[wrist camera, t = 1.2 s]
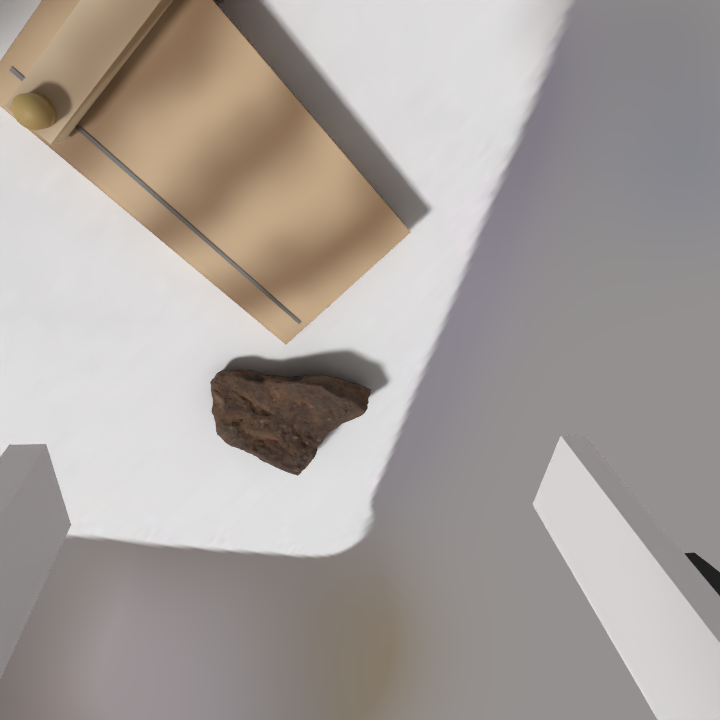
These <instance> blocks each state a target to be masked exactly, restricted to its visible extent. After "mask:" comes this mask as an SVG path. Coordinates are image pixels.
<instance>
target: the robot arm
mask: <svg viewBox="0 0 720 720" xmlns="http://www.w3.org/2000/svg"><path fill="white" fill-rule="evenodd" d="M533 506H534V508H535V509H536V511H537V513H538V515H539V516H540V518H541V519H542V521H543V523H544V525H545V527H546V528H547V530H548V531H549V533H550V535H551V537H552V539H553V540H554V542H555V544H556V546H557V547H558V549H559V551H560V552H561V554H562V556H563V557H564V559H565V561H566V563H567V564H568V566H569V568H570V569H571V571H572V573H573V575H574V577H575V578H576V580H577V582H578V583H579V585H580V587H581V588H582V590H583V592H584V594H585V595H586V597H587V599H588V601H589V602H590V604H591V606H592V608H593V609H594V611H595V612H596V614H597V616H598V618H599V620H600V621H601V623H602V625H603V626H604V628H605V630H606V632H607V633H608V635H609V637H610V639H611V640H612V642H613V644H614V645H615V647H616V649H617V651H618V652H619V654H620V656H621V657H622V659H623V661H624V663H625V664H626V666H627V668H628V669H629V671H630V673H631V675H632V676H633V678H634V680H635V682H636V683H637V685H638V687H639V688H640V690H641V692H642V694H643V695H644V697H645V699H646V701H647V702H648V704H649V706H650V707H651V709H652V711H653V712H654V714H655V716H656V718H657V719H658V720H720V572H719V571H717V570H716V569H715V568H713V567H712V566H711V565H710V564H708V563H707V562H706V561H705V560H703V559H702V558H701V557H699V556H698V555H697V554H695V553H685V554H684V553H683V552H682V551H681V549H680V548H679V547H678V546H677V544H676V543H675V542H674V541H673V540H672V538H671V537H670V536H669V535H668V534H667V532H666V531H665V530H664V529H663V528H662V527H661V525H660V524H659V523H658V522H657V520H656V519H655V518H654V517H653V516H652V514H651V513H650V512H649V511H648V510H647V508H646V507H645V506H644V505H643V504H642V503H641V501H640V500H639V499H638V498H637V496H636V495H635V494H634V493H633V492H632V490H631V489H630V488H629V487H628V486H627V485H626V483H625V482H624V481H623V480H622V479H621V477H620V476H619V475H618V474H617V473H616V472H615V470H614V469H613V468H612V467H611V465H610V464H609V463H608V462H607V461H606V459H605V458H604V457H603V456H602V455H601V454H600V452H599V451H598V450H597V449H596V447H595V446H594V445H593V444H592V443H591V441H590V440H589V439H588V438H587V437H586V436H585V435H574V436H561V437H560V439H559V442H558V444H557V446H556V449H555V451H554V454H553V456H552V459H551V461H550V463H549V466H548V468H547V471H546V473H545V476H544V478H543V481H542V483H541V485H540V488H539V490H538V493H537V495H536V498H535V500H534V503H533ZM70 526H71V523H70V520H69V517H68V514H67V510H66V507H65V504H64V501H63V497H62V494H61V491H60V488H59V484H58V481H57V478H56V475H55V472H54V468H53V465H52V462H51V459H50V455H49V452H48V449H47V446H46V444H31V445H9V446H8V447H7V449H6V450H5V452H4V453H3V454H2V456H1V457H0V678H1V676H2V674H3V672H4V669H5V667H6V665H7V663H8V661H9V659H10V656H11V654H12V652H13V650H14V648H15V645H16V643H17V641H18V639H19V637H20V635H21V632H22V630H23V628H24V626H25V624H26V621H27V619H28V617H29V615H30V613H31V611H32V608H33V606H34V604H35V602H36V600H37V597H38V595H39V593H40V591H41V589H42V587H43V584H44V582H45V580H46V578H47V576H48V573H49V571H50V569H51V567H52V565H53V563H54V560H55V558H56V556H57V554H58V552H59V550H60V548H61V545H62V543H63V541H64V539H65V537H66V534H67V532H68V530H69V528H70Z"/></svg>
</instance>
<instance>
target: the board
mask: <svg viewBox="0 0 720 720" xmlns="http://www.w3.org/2000/svg"><path fill="white" fill-rule="evenodd" d="M79 1H80V0H42V1H41V3H40V4H39V6H38V7H37V9H36V10H35V12H34V13H33V15H32V16H31V17H30V19H29V20H28V22H27V23H26V25H25V26H24V28H23V29H22V31H21V32H20V33H19V35H18V36H17V38H16V39H15V41H14V42H13V44H12V45H11V47H10V48H9V49H8V51H7V52H6V54H5V55H4V57H3V58H2V60H1V61H0V106H1V107H2V108H3V109H4V110H6V111H7V112H8V113H9V114H10V115H12V116H13V117H14V115H13V112H11V111H10V110H9V109H8V108H7V107H5V105H6V104H7V102H8V101H9V99H10V98H11V97H12V95H13V94H14V92H15V91H16V90H17V88H18V87H19V85H20V84H21V82H22V81H23V80H24V78H25V77H26V75H27V74H28V73H29V71H30V70H31V68H32V67H33V66H34V64H35V63H36V61H37V60H38V59H39V57H40V56H41V54H42V53H43V52H44V50H45V49H46V47H47V46H48V45H49V43H50V42H51V40H52V39H53V38H54V36H55V35H56V33H57V32H58V31H59V29H60V28H61V26H62V25H63V24H64V22H65V21H66V19H67V18H68V17H69V15H70V14H71V12H72V11H73V10H74V8H75V7H76V5H77V4H78V3H79ZM14 118H15V117H14ZM15 119H16V118H15ZM27 129H28V128H27ZM28 130H30V131H31V132H32V133H33V134H34V135H36V136H37V137H38V138H39V139H40V140H42V141H43V142H44V143H45V144H46V145H48V146H49V147H50V148H51V149H52V150H54V151H55V152H56V153H57V154H58V155H60V156H61V157H62V158H63V159H64V160H66V161H67V162H68V163H69V164H70V165H72V166H73V167H74V168H75V169H76V170H77V171H79V172H80V173H81V174H82V175H83V176H85V177H86V178H87V179H88V180H89V181H91V182H92V183H93V184H94V185H95V186H97V187H98V188H99V189H100V190H101V191H103V192H104V193H105V194H106V195H107V196H109V197H110V198H111V199H112V200H113V201H115V202H116V203H117V204H118V205H119V206H121V207H122V208H123V209H124V210H125V211H127V212H128V213H129V214H130V215H131V216H133V217H134V218H135V219H136V220H137V221H139V222H140V223H141V224H142V225H143V226H145V227H146V228H147V229H148V230H149V231H151V232H152V233H153V234H154V235H155V236H157V237H158V238H159V239H160V240H161V241H163V242H164V243H165V244H166V245H167V246H168V247H170V248H171V249H172V250H173V251H174V252H176V253H177V254H178V255H179V256H180V257H182V258H183V259H184V260H185V261H186V262H188V263H189V264H190V265H191V266H192V267H194V268H195V269H196V270H197V271H198V272H200V273H201V274H202V275H203V276H204V277H206V278H207V279H208V280H209V281H210V282H212V283H213V284H214V285H215V286H216V287H218V288H219V289H220V290H221V291H222V292H224V293H225V294H226V295H227V296H228V297H230V298H231V299H232V300H233V301H234V302H236V303H237V304H238V305H239V306H240V307H242V308H243V309H244V310H245V311H246V312H248V313H249V314H250V315H251V316H252V317H254V318H255V319H256V320H257V321H258V322H259V323H261V324H262V325H263V326H264V327H265V328H267V329H268V330H269V331H270V332H271V333H273V334H274V335H275V336H276V337H277V338H279V339H280V340H281V341H282V342H283V343H285V344H287V343H288V342H289V341H291V340H292V339H293V338H294V337H295V336H296V335H297V334H298V333H299V332H300V331H302V330H303V329H304V328H305V327H306V326H307V325H308V324H309V323H310V322H312V321H313V320H314V319H315V318H316V317H317V316H318V315H319V314H320V313H322V312H323V311H324V310H325V309H326V308H327V307H328V306H329V305H330V304H332V303H333V302H334V301H335V300H336V299H337V298H338V297H339V296H340V295H342V294H343V293H344V292H345V291H346V290H347V289H348V288H349V287H350V286H352V285H353V284H354V283H355V282H356V281H357V280H358V279H359V278H360V277H362V276H363V275H364V274H365V273H366V272H367V271H368V270H369V269H370V268H371V267H373V266H374V265H375V264H376V263H377V262H378V261H379V260H380V259H381V258H383V257H384V256H385V255H386V254H387V253H388V252H389V251H390V250H391V249H393V248H394V247H395V246H396V245H397V244H398V243H399V242H400V241H401V240H403V239H404V238H405V237H406V236H407V235H408V234H409V233H410V231H409V230H408V228H407V227H406V226H405V225H404V223H403V222H402V221H401V220H400V219H399V217H398V216H397V215H396V214H395V213H394V212H393V210H392V209H391V208H390V207H389V206H388V205H387V203H386V202H385V201H384V200H383V199H382V198H381V196H380V195H379V194H378V193H377V192H376V190H375V189H374V188H373V187H372V186H371V185H370V183H369V182H368V181H367V180H366V179H365V178H364V176H363V175H362V174H361V173H360V172H359V171H358V169H357V168H356V167H355V166H354V165H353V163H352V162H351V161H350V160H349V159H348V158H347V156H346V155H345V154H344V153H343V152H342V151H341V149H340V148H339V147H338V146H337V145H336V144H335V142H334V141H333V140H332V139H331V138H330V137H329V135H328V134H327V133H326V132H325V131H324V129H323V128H322V127H321V126H320V125H319V124H318V122H317V121H316V120H315V119H314V118H313V117H312V115H311V114H310V113H309V112H308V111H307V110H306V108H305V107H304V106H303V105H302V104H301V102H300V101H299V100H298V99H297V98H296V97H295V95H294V94H293V93H292V92H291V91H290V90H289V88H288V87H287V86H286V85H285V84H284V83H283V81H282V80H281V79H280V78H279V77H278V75H277V74H276V73H275V72H274V71H273V70H272V68H271V67H270V66H269V65H268V64H267V63H266V61H265V60H264V59H263V58H262V57H261V56H260V54H259V53H258V52H257V51H256V50H255V48H254V47H253V46H252V45H251V44H250V43H249V41H248V40H247V39H246V38H245V37H244V36H243V34H242V33H241V32H240V31H239V30H238V29H237V27H236V26H235V25H234V24H233V23H232V21H231V20H230V19H229V18H228V17H227V16H226V14H225V13H224V12H223V11H222V10H221V9H220V7H219V6H218V5H217V4H216V3H215V2H214V0H173V1H172V3H171V4H170V5H169V6H168V8H167V9H166V10H165V12H164V13H163V14H162V16H161V17H160V18H159V19H158V21H157V22H156V23H155V25H154V26H153V27H152V28H151V30H150V31H149V32H148V34H147V35H146V36H145V37H144V39H143V40H142V41H141V43H140V44H139V45H138V46H137V48H136V49H135V50H134V52H133V53H132V54H131V55H130V57H129V58H128V59H127V61H126V62H125V63H124V64H123V66H122V67H121V68H120V70H119V71H118V72H117V73H116V75H115V76H114V77H113V79H112V80H111V81H110V83H109V84H108V85H107V86H106V88H105V89H104V90H103V92H102V93H101V94H100V95H99V97H98V98H97V99H96V101H95V102H94V103H93V104H92V106H91V107H90V108H89V110H88V111H87V112H86V113H85V115H84V116H83V117H82V119H81V120H80V121H79V122H78V124H77V125H76V126H75V128H74V129H73V130H72V131H71V133H70V134H69V135H68V137H67V138H66V139H65V141H61V142H57V143H54V144H49V143H48V142H47V141H46V140H45V139H44V138H42V137H41V136H40V135H39V134H38V133H36V132H35V131H34V130H31V129H28Z"/></svg>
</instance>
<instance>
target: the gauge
mask: <svg viewBox="0 0 720 720" xmlns="http://www.w3.org/2000/svg"><path fill="white" fill-rule="evenodd" d="M172 1H173V0H80V1H79V3H78V4H77V5H76V7H75V8H74V10H73V11H72V12H71V14H70V15H69V17H68V18H67V19H66V21H65V22H64V24H63V25H62V26H61V28H60V29H59V31H58V32H57V33H56V35H55V36H54V38H53V39H52V40H51V42H50V43H49V45H48V46H47V47H46V49H45V50H44V52H43V53H42V54H41V56H40V57H39V59H38V60H37V61H36V63H35V64H34V66H33V67H32V68H31V70H30V71H29V73H28V74H27V75H26V77H25V78H24V80H23V81H22V82H21V84H20V85H19V87H18V88H17V90H16V91H15V92H14V94H13V95H12V97H11V98H10V99H9V101H8V102H7V104H6V105H5V107H7V108H8V109H9V110H10V111H11V112H13V115H14V117H15V118H16V120H17V121H18V122H19V123H20V124H21V125H22V126H24V127H26V128H28V129H31V130H34V131H35V132H36V133H38V134H39V135H40V136H41V137H42V138H44V139H45V140H46V141H47V142H48V143H49V144H54V143H57V142H61V141H65V139H66V138H67V137H68V135H69V134H70V133H71V131H72V130H73V129H74V128H75V126H76V125H77V124H78V122H79V121H80V120H81V119H82V117H83V116H84V115H85V113H86V112H87V111H88V110H89V108H90V107H91V106H92V104H93V103H94V102H95V101H96V99H97V98H98V97H99V95H100V94H101V93H102V92H103V90H104V89H105V88H106V86H107V85H108V84H109V83H110V81H111V80H112V79H113V77H114V76H115V75H116V73H117V72H118V71H119V70H120V68H121V67H122V66H123V64H124V63H125V62H126V61H127V59H128V58H129V57H130V55H131V54H132V53H133V52H134V50H135V49H136V48H137V46H138V45H139V44H140V43H141V41H142V40H143V39H144V37H145V36H146V35H147V34H148V32H149V31H150V30H151V28H152V27H153V26H154V25H155V23H156V22H157V21H158V19H159V18H160V17H161V16H162V14H163V13H164V12H165V10H166V9H167V8H168V6H169V5H170V4H171V3H172ZM221 1H223V0H221Z"/></svg>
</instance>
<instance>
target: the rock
mask: <svg viewBox="0 0 720 720" xmlns="http://www.w3.org/2000/svg"><path fill="white" fill-rule="evenodd" d="M210 383H211V393H212V397H213V407H212V413H213V415H214V418H215V422H216V432H217V434H218V435H219V436H220V437H221V438H222V439H223V440H224V441H225V442H226V443H227V444H229V445H230V446H233V447H236V448H239V449H241V450H244V451H246V452H247V453H251V454H253V455H254V456H257V457H258V458H259V459H260V460H262V461H264V462H266V463H269V464H271V465H273V466H274V467H276V468H279V469H281V470H283V471H286V472H289V473H292V474H295V475H299V474H300V473H301V471H302V470H304V469H305V468H306V467H307V466H308V465H309V463H310V462H311V461H312V459H313V458H314V457H315V455H316V452H317V446H318V445H319V444H320V443H321V442H322V441H323V439H324V437H325V436H326V435H327V433H328V432H329V431H331V430H334V429H335V428H337V427H338V426H340V425H341V424H342V423H345V422H347V421H350V420H353V419H355V418H357V417H359V416H361V415H363V414H364V413H365V411H366V410H367V404H368V397H369V396H370V392H371V389H369V388H366V387H363V386H361V385H356V384H351V383H348V382H347V381H344V380H342V379H338V378H333V377H330V376H323V375H306V376H302V377H298V376H297V377H294V378H284V377H280V376H274V375H272V376H269V375H263V374H261V373H258V372H255V371H252V370H247V371H242V370H237V371H220V372H218V373H217V374H216V376H215V378H214V379H212V381H211V382H210Z"/></svg>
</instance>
